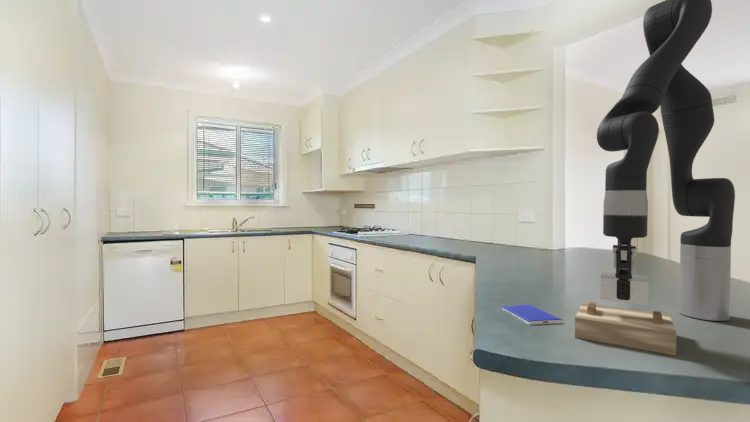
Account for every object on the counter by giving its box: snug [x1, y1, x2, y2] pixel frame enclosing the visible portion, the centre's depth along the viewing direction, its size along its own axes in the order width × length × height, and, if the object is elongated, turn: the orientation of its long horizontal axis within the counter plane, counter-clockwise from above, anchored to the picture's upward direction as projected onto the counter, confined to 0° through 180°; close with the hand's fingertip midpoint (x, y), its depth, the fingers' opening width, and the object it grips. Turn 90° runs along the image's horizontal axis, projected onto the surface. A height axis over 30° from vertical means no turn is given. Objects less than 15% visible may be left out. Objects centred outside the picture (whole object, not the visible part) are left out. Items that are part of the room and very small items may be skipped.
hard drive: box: [501, 304, 563, 326], centre depth 91 cm, size 2×8×12 cm
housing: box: [599, 271, 650, 306], centre depth 77 cm, size 8×4×5 cm, turn 57°
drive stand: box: [574, 301, 678, 356], centre depth 77 cm, size 14×16×6 cm
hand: (623, 296), depth 77 cm, fingers closed on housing, 4 cm apart
